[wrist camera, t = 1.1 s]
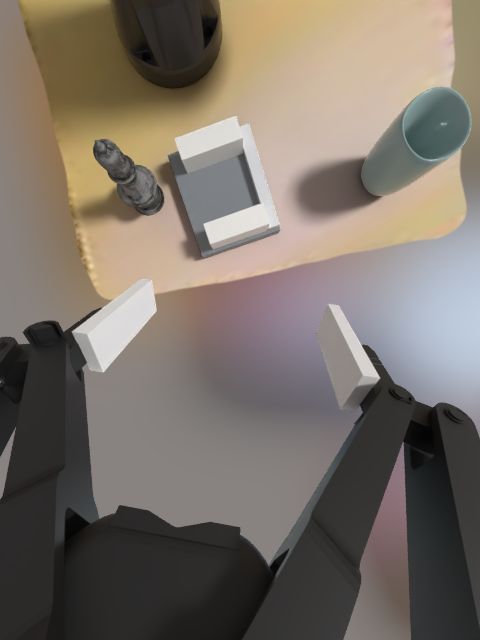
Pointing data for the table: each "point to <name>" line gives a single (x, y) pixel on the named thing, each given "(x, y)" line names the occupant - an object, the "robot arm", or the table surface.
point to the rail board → (223, 187)
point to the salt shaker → (129, 178)
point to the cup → (417, 141)
